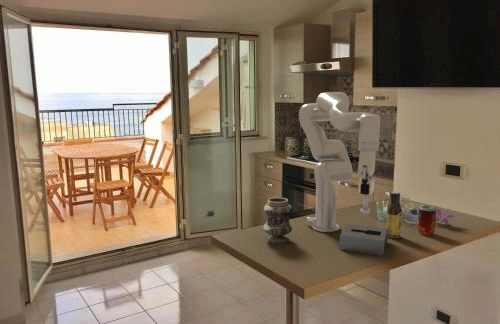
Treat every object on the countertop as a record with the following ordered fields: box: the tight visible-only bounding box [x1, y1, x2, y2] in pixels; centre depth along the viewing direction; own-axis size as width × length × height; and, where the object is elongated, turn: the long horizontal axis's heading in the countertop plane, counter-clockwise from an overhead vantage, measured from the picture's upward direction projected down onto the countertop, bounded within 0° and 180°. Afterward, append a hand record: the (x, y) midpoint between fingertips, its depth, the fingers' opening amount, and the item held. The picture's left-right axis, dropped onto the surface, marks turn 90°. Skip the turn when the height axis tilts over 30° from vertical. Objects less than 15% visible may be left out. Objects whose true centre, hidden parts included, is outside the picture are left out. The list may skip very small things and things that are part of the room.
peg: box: [357, 177, 375, 215], centre depth 169 cm, size 5×5×14 cm
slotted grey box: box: [339, 223, 389, 256], centre depth 177 cm, size 17×16×6 cm
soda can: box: [417, 205, 436, 237], centre depth 191 cm, size 7×7×12 cm
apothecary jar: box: [263, 197, 293, 245], centre depth 183 cm, size 12×12×18 cm
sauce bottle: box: [385, 191, 403, 240], centre depth 187 cm, size 7×6×20 cm
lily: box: [433, 205, 458, 229], centre depth 203 cm, size 12×12×10 cm
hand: (366, 191), depth 169 cm, fingers closed on peg, 5 cm apart
